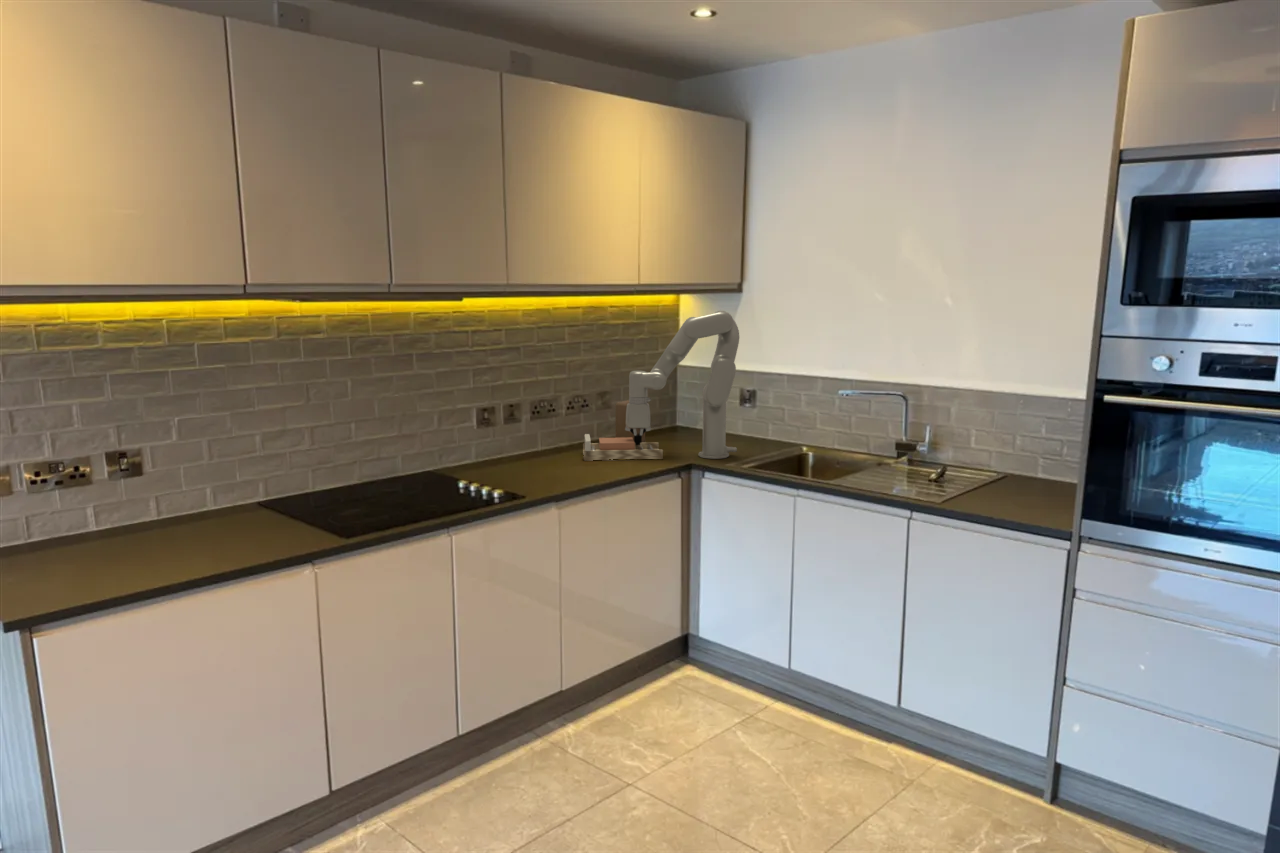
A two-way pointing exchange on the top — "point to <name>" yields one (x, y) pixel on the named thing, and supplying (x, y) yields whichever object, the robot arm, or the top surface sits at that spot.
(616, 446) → the slab
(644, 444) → the roller bed
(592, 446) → the rollers
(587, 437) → the end stop
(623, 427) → the wooden block
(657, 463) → the top surface
